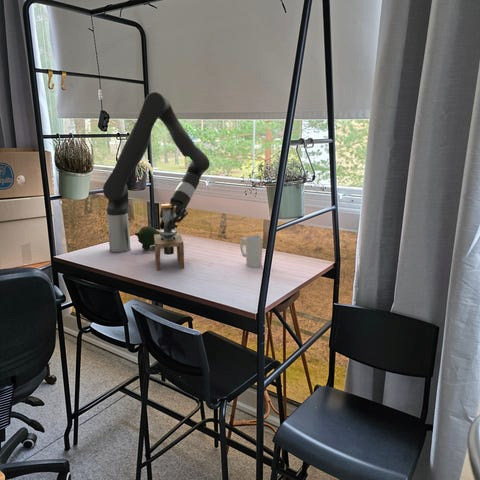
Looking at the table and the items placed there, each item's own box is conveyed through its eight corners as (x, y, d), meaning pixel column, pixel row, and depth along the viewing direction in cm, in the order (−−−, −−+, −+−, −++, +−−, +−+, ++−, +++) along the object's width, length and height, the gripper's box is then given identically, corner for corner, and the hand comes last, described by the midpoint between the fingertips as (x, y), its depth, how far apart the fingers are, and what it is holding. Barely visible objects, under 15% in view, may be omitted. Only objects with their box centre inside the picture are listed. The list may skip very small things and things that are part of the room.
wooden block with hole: (156, 270, 171) (155, 244, 168) (155, 259, 186) (154, 234, 183) (184, 268, 173) (183, 242, 171) (180, 257, 188) (179, 233, 186)
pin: (161, 256, 175) (158, 206, 169) (160, 251, 181) (157, 203, 176) (177, 254, 176) (175, 205, 171) (176, 250, 183) (174, 203, 177)
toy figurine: (167, 243, 217) (128, 250, 198) (168, 206, 214) (128, 209, 194) (181, 246, 212) (141, 253, 192) (182, 208, 208) (141, 211, 188)
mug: (265, 264, 178) (265, 236, 175) (256, 268, 173) (256, 239, 170) (245, 260, 184) (245, 233, 181) (236, 264, 178) (235, 236, 175)
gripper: (166, 188, 182) (146, 221, 175) (191, 191, 174) (172, 225, 168) (175, 199, 187) (156, 231, 181) (200, 201, 180) (181, 236, 173)
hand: (164, 228), depth 174 cm, fingers closed on pin, 3 cm apart
